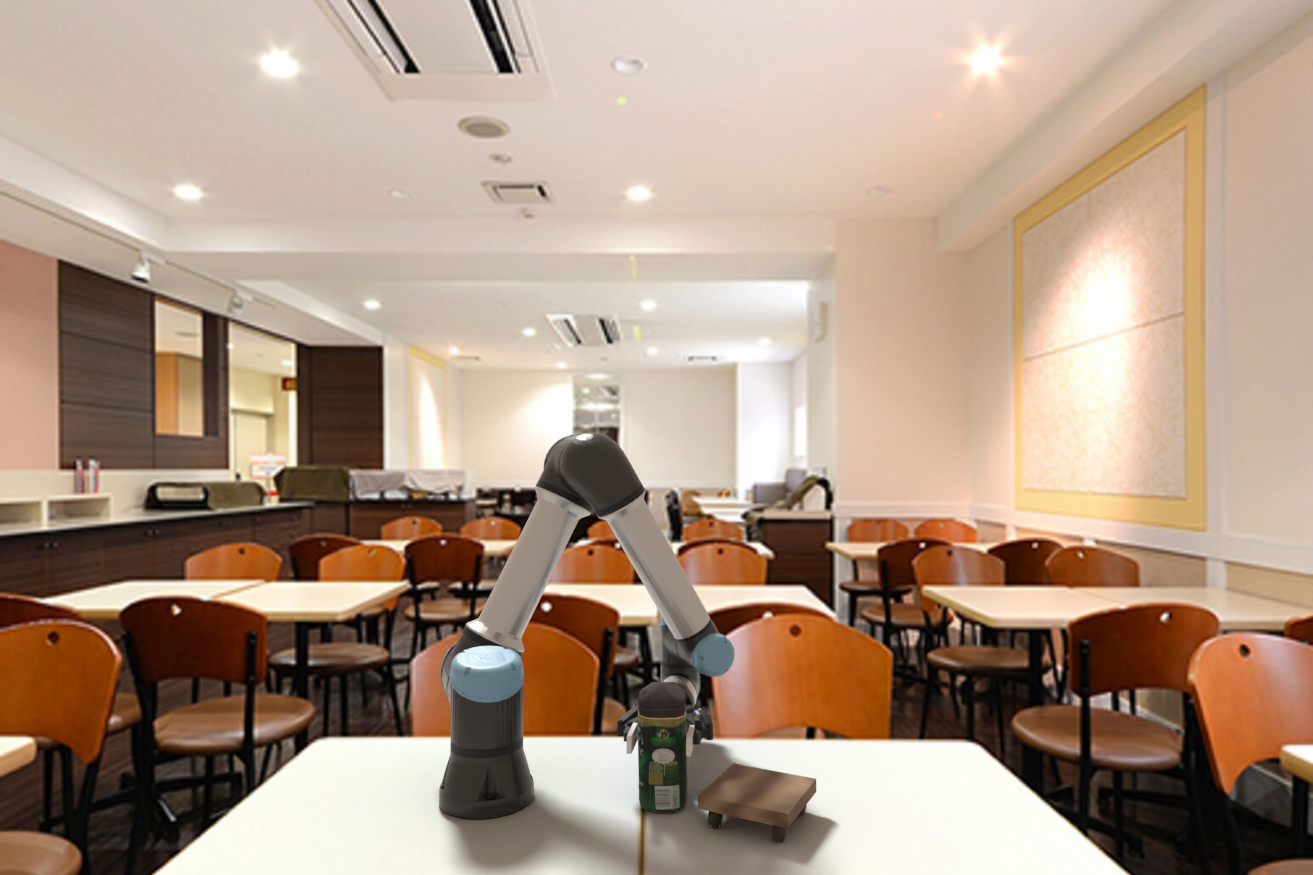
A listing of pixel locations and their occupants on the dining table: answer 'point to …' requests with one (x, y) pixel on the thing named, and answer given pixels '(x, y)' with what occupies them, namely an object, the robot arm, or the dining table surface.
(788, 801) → the caster dolly
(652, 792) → the coffee jar
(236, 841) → the dining table surface
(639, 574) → the robot arm
